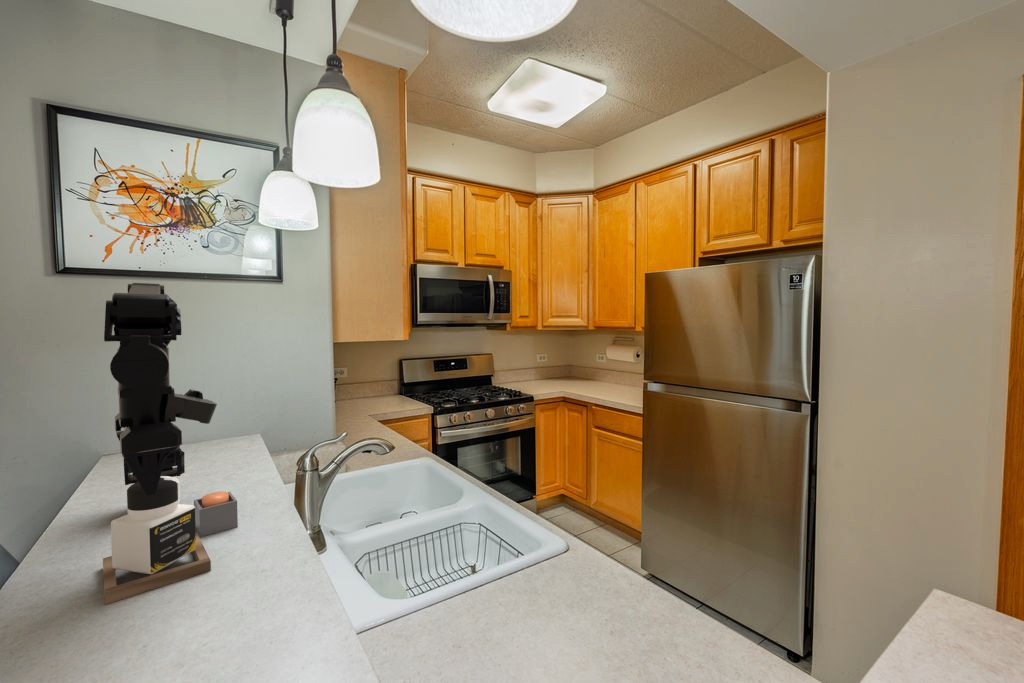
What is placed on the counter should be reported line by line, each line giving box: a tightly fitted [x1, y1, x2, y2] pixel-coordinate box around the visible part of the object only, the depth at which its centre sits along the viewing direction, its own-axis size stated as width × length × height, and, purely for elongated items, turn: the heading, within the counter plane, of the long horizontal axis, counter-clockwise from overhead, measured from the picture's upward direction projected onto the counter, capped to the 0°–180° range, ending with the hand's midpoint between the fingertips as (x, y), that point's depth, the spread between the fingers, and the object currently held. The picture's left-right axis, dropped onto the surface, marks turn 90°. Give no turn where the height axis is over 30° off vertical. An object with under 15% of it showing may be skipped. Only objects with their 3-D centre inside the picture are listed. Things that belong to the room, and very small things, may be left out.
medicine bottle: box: [110, 476, 197, 575], centre depth 65 cm, size 7×7×12 cm
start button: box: [201, 491, 229, 508], centre depth 79 cm, size 4×4×2 cm
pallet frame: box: [102, 532, 212, 605], centre depth 65 cm, size 12×12×2 cm
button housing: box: [193, 491, 239, 538], centre depth 79 cm, size 6×6×5 cm
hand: (147, 485), depth 64 cm, fingers open, 9 cm apart
